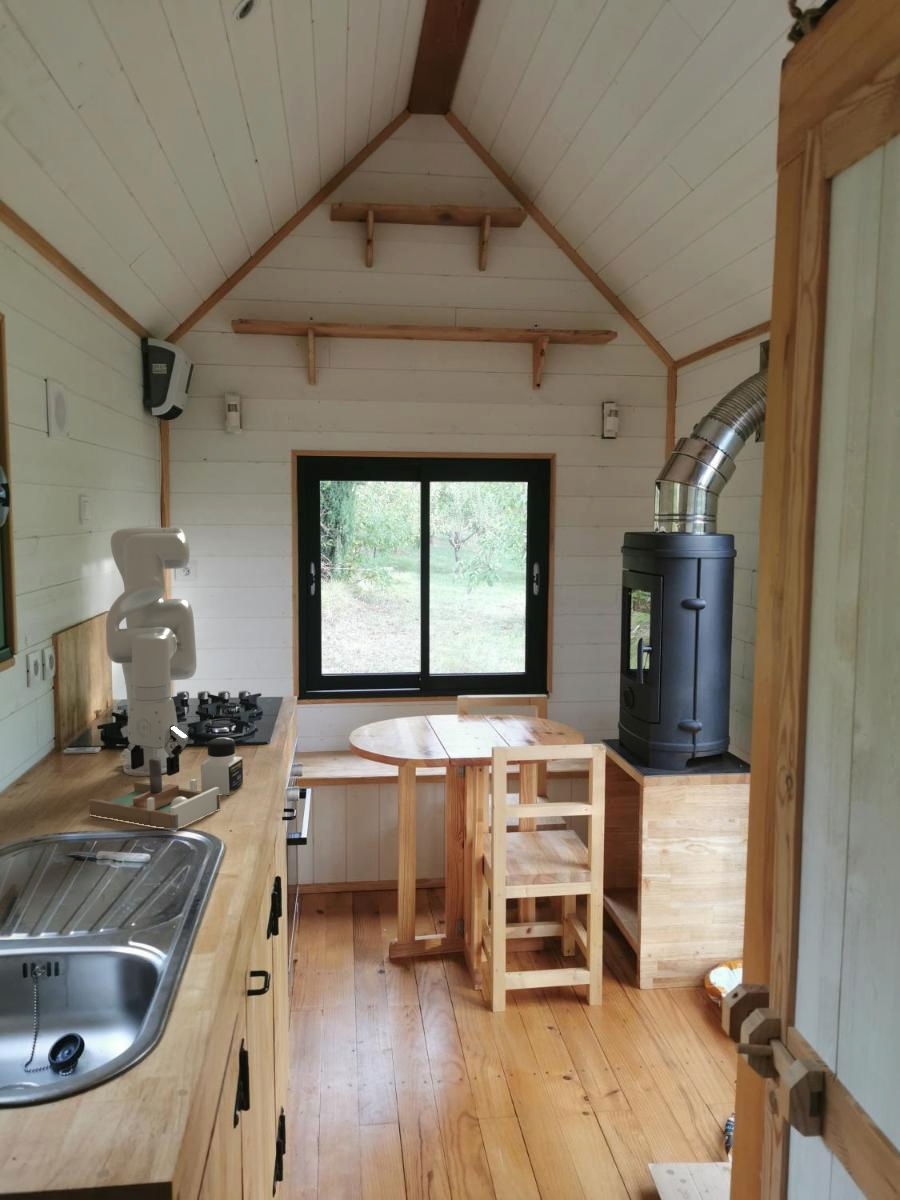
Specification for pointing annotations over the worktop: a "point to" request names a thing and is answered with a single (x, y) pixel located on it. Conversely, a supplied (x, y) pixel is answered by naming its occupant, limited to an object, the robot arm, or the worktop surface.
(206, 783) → the medicine bottle
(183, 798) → the ball
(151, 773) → the striker
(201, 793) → the pitch
